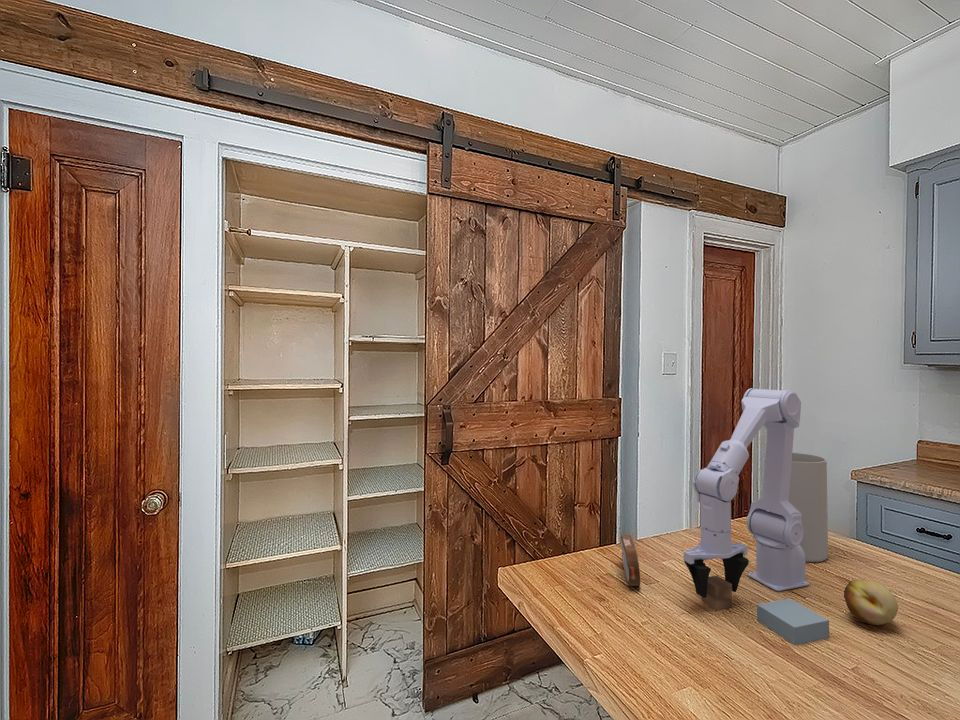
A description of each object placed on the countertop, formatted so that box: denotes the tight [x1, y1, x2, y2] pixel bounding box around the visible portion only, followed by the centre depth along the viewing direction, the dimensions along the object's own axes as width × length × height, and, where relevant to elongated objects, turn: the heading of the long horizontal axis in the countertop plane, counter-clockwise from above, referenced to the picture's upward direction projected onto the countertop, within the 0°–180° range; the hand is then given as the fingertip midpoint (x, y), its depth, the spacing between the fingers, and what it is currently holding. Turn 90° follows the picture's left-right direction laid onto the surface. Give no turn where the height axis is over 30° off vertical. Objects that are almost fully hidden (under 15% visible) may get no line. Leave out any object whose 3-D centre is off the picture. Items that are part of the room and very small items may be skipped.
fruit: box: [843, 579, 899, 626], centre depth 87 cm, size 8×8×8 cm
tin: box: [620, 534, 641, 587], centre depth 107 cm, size 15×3×8 cm, turn 168°
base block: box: [756, 597, 830, 646], centre depth 86 cm, size 8×8×4 cm
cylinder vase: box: [769, 452, 829, 563], centre depth 119 cm, size 12×12×25 cm
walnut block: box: [701, 575, 733, 612], centre depth 95 cm, size 4×4×5 cm
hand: (716, 592), depth 95 cm, fingers open, 7 cm apart
